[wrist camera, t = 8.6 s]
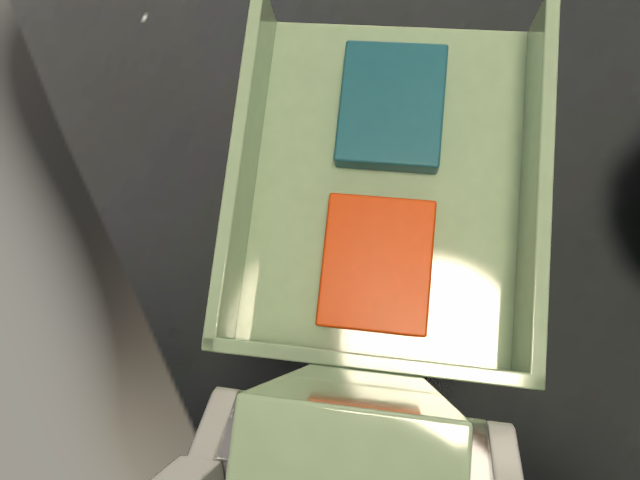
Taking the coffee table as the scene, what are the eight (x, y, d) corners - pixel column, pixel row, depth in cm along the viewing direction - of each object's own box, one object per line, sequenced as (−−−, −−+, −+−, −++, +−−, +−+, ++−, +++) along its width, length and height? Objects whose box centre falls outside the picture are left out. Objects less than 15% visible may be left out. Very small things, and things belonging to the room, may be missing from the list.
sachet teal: (437, 175, 17) (439, 167, 16) (335, 167, 17) (332, 159, 16) (446, 56, 18) (449, 42, 17) (347, 51, 18) (345, 38, 17)
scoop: (514, 490, 16) (747, 753, 6) (212, 447, 17) (-28, 606, 7) (536, 39, 18) (728, -323, 8) (268, 29, 19) (149, -302, 9)
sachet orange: (424, 337, 16) (426, 338, 15) (317, 326, 16) (314, 325, 16) (434, 206, 17) (437, 200, 16) (331, 198, 17) (328, 191, 16)
